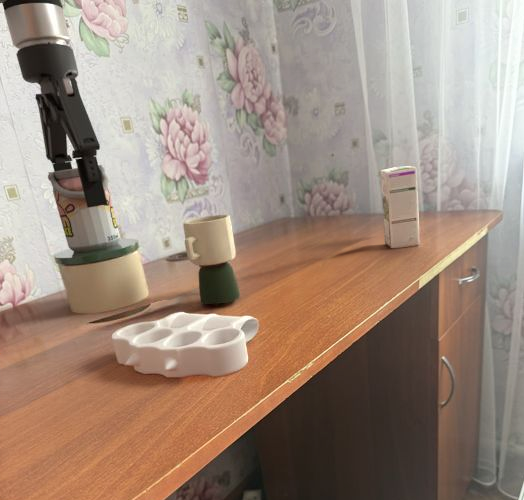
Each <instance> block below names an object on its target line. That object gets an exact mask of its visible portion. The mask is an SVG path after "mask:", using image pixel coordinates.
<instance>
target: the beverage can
mask: <svg viewBox="0 0 524 500" xmlns="http://www.w3.org/2000/svg"><path fill="white" fill-rule="evenodd" d="M98 167H99V171H100V175H101V179H102V183H103V188H104V192H105V196H106V200H107V204H106V205H100V206H95V207H87V203H86V199H85V195H84V191H83V187H82V183H81V180H80V176H79V172H78V168H77V167H75V168H72V169H68V170H61V171H55V172H54V171H50V172H48V175H47V179H48V181H49V182H50V183H51V186H52V194H53V197H54V202H55V205H56V208H57V212H58V215H59V218H60V222H61V226H62V229H63V232H64V237H65V240H66V244H67V247H68V249H71V250H72V251H74V252H88V251H94V250H100V249H104V248H108V247H111V246H114V245H116V244H118V242H119V240H120V239H121V236H120V231H119V227H118V222H117V218H116V214H115V210H114V206H113V202H112V199H111V194H110V190H109V183H110V180H109V177H108V176H107V174H106V172H105V167H104V166H103V165H102V164H98Z"/></svg>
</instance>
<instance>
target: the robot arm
mask: <svg viewBox="0 0 524 500" xmlns="http://www.w3.org/2000/svg"><path fill="white" fill-rule="evenodd" d="M0 4H2V7H3V11H4V16H5V21H6V24H7V27H8V31H9V35H10V38H11V42H12V46H13V47H15V48H17V49H18V50H17V52H16V54H15V55H16V59H17V62H18V66H19V70H20V73H21V76H22V79H23V80H24V81H25V82H27V83H30V84H38V85H39V87H40V93H36V94H35V100H36V104H37V108H38V111H39V112H38V113H39V119H40V125H41V131H42V138H43V143H44V148H45V149H44V150H45V157H46V159H47V160H48V161H50V162H51V164H52V168H53V172H55V171H61V170H68V169H73V165H72V162H73V159H75V162H76V163H75V164H76V168H78V172H79V176H80V180H81V183H82V187H83V191H84V195H85V199H86V203H87V207H95V206H100V205H106V204H107V200H106V196H105V192H104V188H103V183H102V179H101V175H100V171H99V167H98V165H99V163H98V158H97V156H98V151H99V150H101V149H100V147H101V145H100V143H99V140H98V137H97V135H96V131H95V130H94V126H93V125H92V122H91V119H90V117H89V114H88V112H87V109H86V106H85V104H84V102H83V99H82V96H81V93H80V89H79V86H78V82H77V80H76V79H77V77H78V76H79V69H78V65H77V61H76V55H75V52H74V49H72V48H71V46H69V45H70V43H71V37H70V33H69V28H70V27H71V22H70V21H69V19H66V18H65V11H64V7H63V3H62V0H0ZM67 138H68V139H67ZM68 140H69V142H70V144H71V146H72V148H73V150H72V151H71V155H70V154H68Z"/></svg>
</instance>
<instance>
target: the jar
mask: <svg viewBox="0 0 524 500" xmlns="http://www.w3.org/2000/svg"><path fill="white" fill-rule="evenodd" d="M140 246H141V245H140V242H139V239H137V238H120V240H119V242H118V244H116V245H114V246H111V247H108V248H104V249H100V250H94V251H88V252H74V251H72V250H71V249H70V248H67V249H64V250H61V251H58V252H57V253H55V254H54V255H53V260H54V262H55V264H57V267H58V270H59V275H60V278H61V281H62V284H63V288H64V291H65V294H66V298H67V301H68V304H69V308H70V311H71V312H72V313H76V314H97V313H98V314H99V313H104V312H109V311H110V312H111V311H114V310H118V309H119V310H120V309H122V308H126V307H128V306H129V307H130V306H131V305H134V304H137V303H139V302H142V301H143V300H145V299H146V298H147V297H149V295H150V291H149V287H148V283H147V278H146V274H145V269H144V265H143V261H142V256H141V253H140ZM150 306H151V303H149V304H145V305H142V306H139V307H136V308H133V309H128V310H126V311H122V312H119V313H115V314H112V315H109V316H105V317H102V318H98V319H95V320H92V321H89V322H88V324H99V323H100V324H101V323H108V322H112V321H117V320H120V319H125V318H128V317H131V316H134V315H136V314H139V313H140V312H143V311H144V310H146V309H148V308H149V307H150Z"/></svg>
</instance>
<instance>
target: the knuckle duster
mask: <svg viewBox="0 0 524 500" xmlns="http://www.w3.org/2000/svg"><path fill="white" fill-rule="evenodd" d="M259 324H260V323H259V320H258V318H256V317H253V316H251V315H242V316H233V315H219V314H216V313H209V314H204V313H203V314H202V313H187V312H184V311H178V312H174V313H170V314H169V315H167V316H165V317H163V318H160V319H156V320H153V321H141V322H137V323H132V324H128V325H125V326H123V327H120V328H119V329H117V330H115V331H114V332H113V333H112V334H111V337H110V338H111V343H112V347H113V350H114V353H115V354H114V355H115V358H116V361H117V363H118V364H119V365H123V366H130V367H133V369H134V371H135V372H138V373H141V374H143V375H161V376H164V377H166V378H167V379H169V378H173V379H174V378H186V377H192V376H208V377H209V376H210V377H213V378H218V377H224V376H229V375H232V374H234V373H237V372H239V371H241V370H242V369H243V368H245V367H246V366H247V365H248V362H249V355H248V348H247V343H248V342H250V341H251V340H252V339H254V337H255V336H256V334H257V333H258V330H259Z"/></svg>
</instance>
